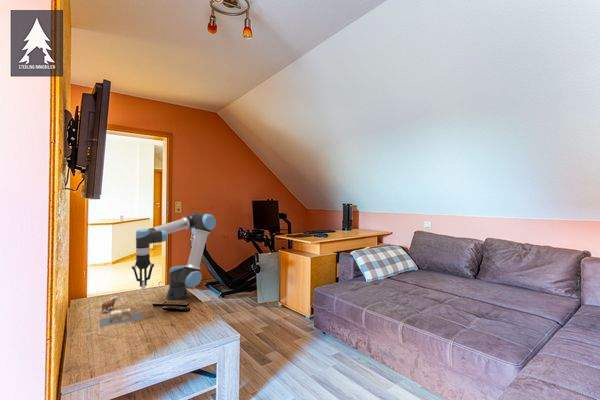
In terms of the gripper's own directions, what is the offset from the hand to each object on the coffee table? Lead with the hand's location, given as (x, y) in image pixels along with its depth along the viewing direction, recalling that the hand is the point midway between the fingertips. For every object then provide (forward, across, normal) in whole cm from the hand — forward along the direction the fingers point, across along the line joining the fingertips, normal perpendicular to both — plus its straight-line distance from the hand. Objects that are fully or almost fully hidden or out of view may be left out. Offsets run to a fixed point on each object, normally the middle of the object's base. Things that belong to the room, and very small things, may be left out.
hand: (143, 291), depth 188 cm
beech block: (+13, +7, 0) cm, 15 cm away
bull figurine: (+16, +18, -20) cm, 31 cm away
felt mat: (+15, +12, 0) cm, 19 cm away
